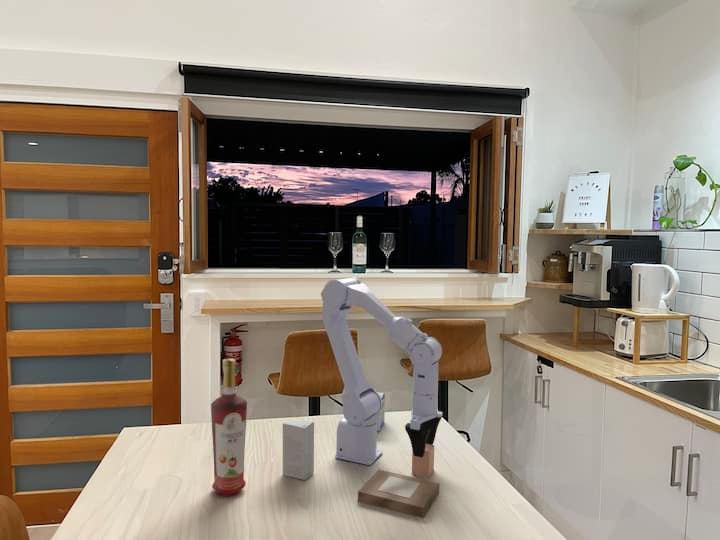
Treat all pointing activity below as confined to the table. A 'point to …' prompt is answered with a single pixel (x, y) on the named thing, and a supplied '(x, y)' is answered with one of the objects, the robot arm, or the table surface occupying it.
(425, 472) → the terracotta block
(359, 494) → the base board
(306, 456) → the skincare box
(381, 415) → the medicine box
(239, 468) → the liquor
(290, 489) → the table surface
